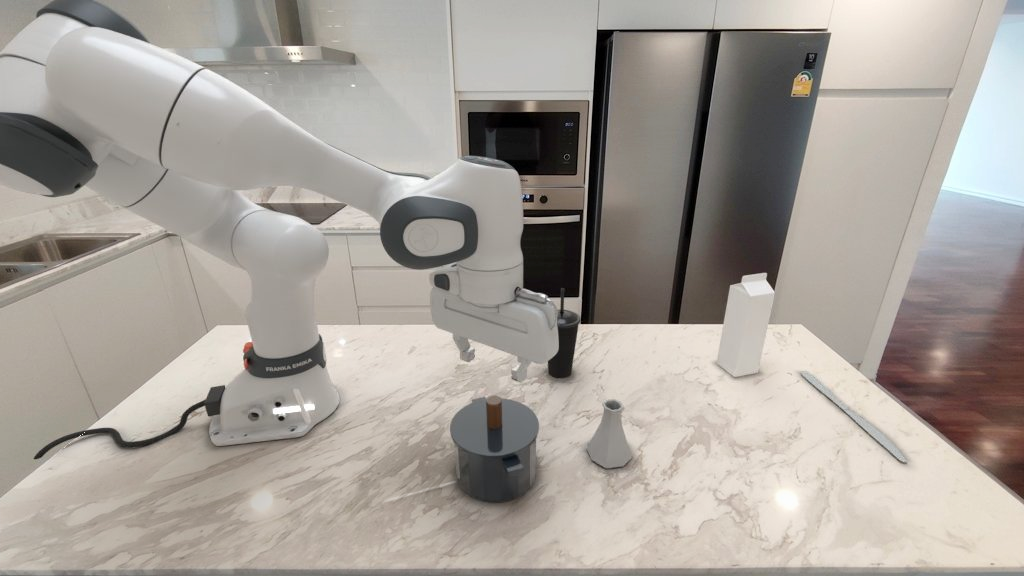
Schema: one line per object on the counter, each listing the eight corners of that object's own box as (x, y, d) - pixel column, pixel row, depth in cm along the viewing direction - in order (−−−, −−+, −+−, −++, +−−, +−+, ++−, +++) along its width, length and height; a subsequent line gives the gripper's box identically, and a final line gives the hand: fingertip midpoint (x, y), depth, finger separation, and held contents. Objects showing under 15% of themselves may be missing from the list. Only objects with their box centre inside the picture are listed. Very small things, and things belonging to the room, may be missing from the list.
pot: (474, 527, 67) (472, 478, 64) (445, 445, 83) (441, 402, 80) (556, 501, 72) (557, 454, 68) (513, 428, 87) (512, 386, 84)
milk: (757, 373, 103) (779, 278, 94) (734, 377, 102) (754, 281, 93) (738, 359, 108) (757, 267, 100) (715, 363, 107) (732, 270, 98)
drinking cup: (576, 386, 99) (580, 297, 92) (539, 382, 101) (540, 295, 93) (579, 366, 106) (583, 283, 98) (544, 363, 108) (546, 280, 100)
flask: (605, 475, 76) (609, 424, 72) (578, 447, 82) (581, 399, 78) (640, 460, 79) (645, 410, 76) (612, 434, 85) (616, 387, 81)
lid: (485, 477, 65) (484, 443, 63) (433, 427, 75) (430, 396, 73) (557, 434, 73) (558, 403, 71) (502, 394, 83) (501, 365, 80)
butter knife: (812, 370, 103) (798, 370, 102) (915, 462, 78) (898, 462, 78) (811, 372, 103) (797, 372, 103) (914, 464, 78) (897, 464, 78)
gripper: (569, 289, 61) (565, 382, 67) (450, 260, 72) (454, 341, 78) (543, 306, 57) (541, 404, 62) (420, 272, 68) (427, 358, 73)
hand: (492, 369), depth 70 cm, fingers open, 8 cm apart
